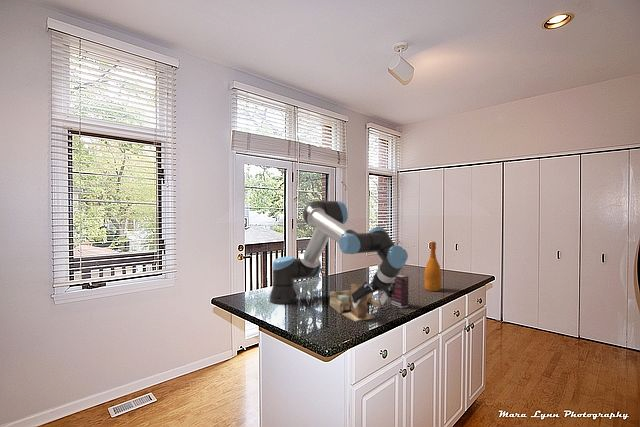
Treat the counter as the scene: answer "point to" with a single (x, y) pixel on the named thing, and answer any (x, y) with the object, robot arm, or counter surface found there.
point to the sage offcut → (343, 298)
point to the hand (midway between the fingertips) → (367, 303)
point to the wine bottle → (432, 271)
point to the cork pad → (356, 317)
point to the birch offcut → (346, 306)
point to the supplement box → (400, 291)
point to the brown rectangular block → (362, 306)
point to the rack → (339, 305)
